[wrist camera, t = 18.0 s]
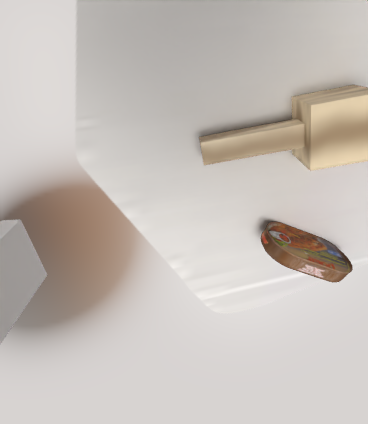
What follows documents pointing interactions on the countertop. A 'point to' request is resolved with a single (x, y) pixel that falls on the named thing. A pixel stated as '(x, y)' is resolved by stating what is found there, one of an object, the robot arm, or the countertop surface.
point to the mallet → (304, 132)
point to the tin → (305, 252)
